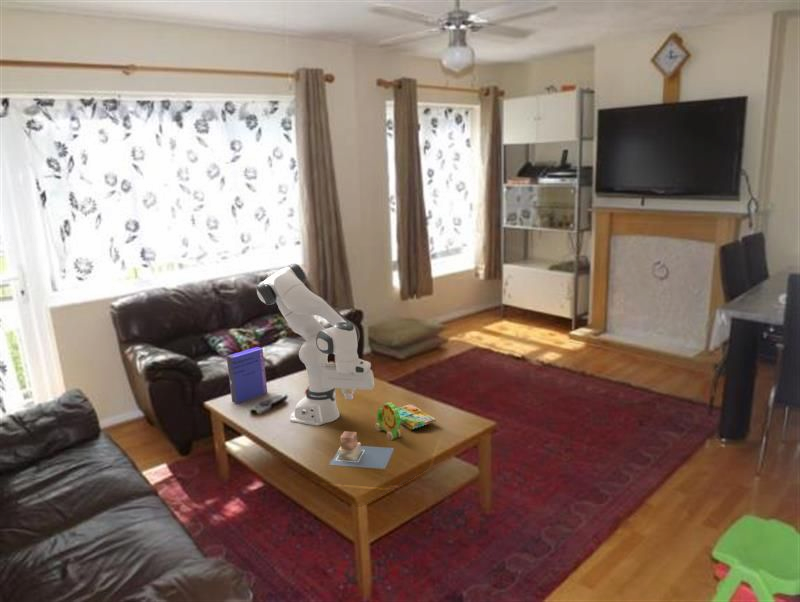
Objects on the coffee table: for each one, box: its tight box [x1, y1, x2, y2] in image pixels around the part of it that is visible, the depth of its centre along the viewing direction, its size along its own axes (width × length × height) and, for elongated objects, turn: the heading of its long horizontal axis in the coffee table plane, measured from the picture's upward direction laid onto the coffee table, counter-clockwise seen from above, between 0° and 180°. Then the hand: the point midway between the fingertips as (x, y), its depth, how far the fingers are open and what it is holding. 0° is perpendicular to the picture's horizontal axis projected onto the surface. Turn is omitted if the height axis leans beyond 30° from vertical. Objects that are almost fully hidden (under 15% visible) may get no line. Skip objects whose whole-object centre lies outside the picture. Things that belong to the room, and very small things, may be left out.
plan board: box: [328, 445, 395, 470], centre depth 223 cm, size 22×16×1 cm
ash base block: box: [337, 441, 362, 460], centre depth 224 cm, size 7×7×4 cm
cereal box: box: [226, 346, 268, 404], centre depth 285 cm, size 17×5×24 cm, turn 136°
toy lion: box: [374, 402, 402, 441], centre depth 239 cm, size 16×6×15 cm, turn 33°
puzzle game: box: [396, 403, 437, 431], centre depth 252 cm, size 12×5×20 cm
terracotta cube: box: [339, 430, 358, 450], centre depth 223 cm, size 5×5×5 cm
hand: (349, 398), depth 220 cm, fingers closed
